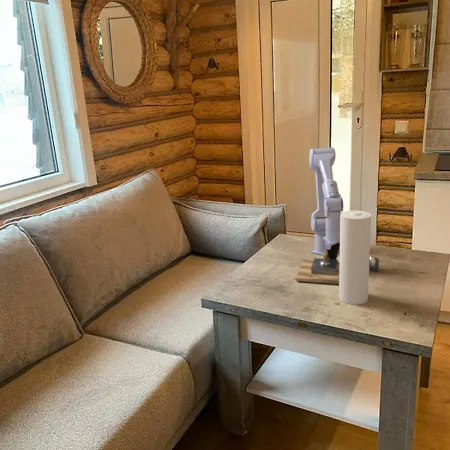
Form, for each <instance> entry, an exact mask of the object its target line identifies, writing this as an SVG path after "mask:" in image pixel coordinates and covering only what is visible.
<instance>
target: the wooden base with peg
mask: <svg viewBox="0 0 450 450" xmlns="http://www.w3.org/2000/svg"><path fill="white" fill-rule="evenodd" d="M322 259H329V255H328V252H327V251H324V252H323V255H322ZM313 261H314V259H305V258H304V259H303V260H302V262H301V264H300V267H299V270H298V272H297V274H296V276H295V281H297V282H308V283H321V284H334V285H335V284H336V285H339V270H340V260H338V268H337V273H336V275H322V274H311V267H312V264H313Z"/></svg>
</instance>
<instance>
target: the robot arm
mask: <svg viewBox="0 0 450 450" xmlns="http://www.w3.org/2000/svg"><path fill="white" fill-rule="evenodd" d="M308 153H309V154H308V157H309V158H308V160H309V161H308V162H309V167H310V169H311V170H313V171H314V175H315V177H314V178H315V190H316V207H317V208H316V210H315V211H313V212H312V213H311V215H310V216H311V217H310V227H311V230H312V232H313V233H314V249H313V250H311V251H310V253H311V254H317V255H322V256H323V252H324V251H327V252H328V255H329V259H335V260H338V254H339V252H340V214H341V213H342V212H344V201H343V197H342V195H341V194H340V191H339V187H338V182H337V181H336V180H334V176H333V175H334V174H333V166H334V164H335V161H336V149H335V148H334V146H332V147H323V148H322V147H321V148H310V149H309V152H308Z"/></svg>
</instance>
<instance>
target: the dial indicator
mask: <svg viewBox="0 0 450 450" xmlns="http://www.w3.org/2000/svg"><path fill="white" fill-rule="evenodd" d="M379 263H380V259H379V258H378V257H376V256H373V255H370V257H369V272H372V273H375V272H378V271H379V267H380V266H379V265H380V264H379Z"/></svg>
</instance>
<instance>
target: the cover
mask: <svg viewBox="0 0 450 450" xmlns="http://www.w3.org/2000/svg"><path fill="white" fill-rule="evenodd" d="M313 260H314V261H313V264H312V267H311V274H322V275H336V273H337V268H338V261H339V259H336V260H335V259H323V258H316V257H315V258H314V259H313Z"/></svg>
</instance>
